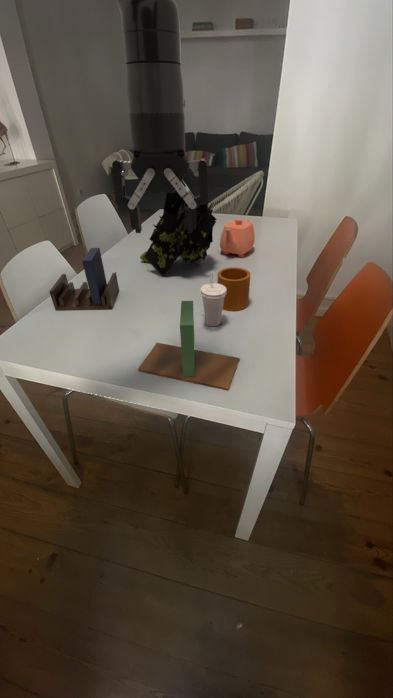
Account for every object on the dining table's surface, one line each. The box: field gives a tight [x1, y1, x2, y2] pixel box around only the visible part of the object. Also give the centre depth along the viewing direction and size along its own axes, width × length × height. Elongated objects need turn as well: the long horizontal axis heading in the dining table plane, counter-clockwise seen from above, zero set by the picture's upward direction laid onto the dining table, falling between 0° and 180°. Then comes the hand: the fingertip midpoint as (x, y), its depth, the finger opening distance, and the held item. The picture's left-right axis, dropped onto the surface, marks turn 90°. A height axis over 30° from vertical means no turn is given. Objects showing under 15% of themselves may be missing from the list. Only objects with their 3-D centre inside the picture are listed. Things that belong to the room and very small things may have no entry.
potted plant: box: [139, 191, 218, 278], centre depth 104 cm, size 21×22×30 cm
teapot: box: [219, 217, 256, 258], centre depth 117 cm, size 20×12×12 cm, turn 152°
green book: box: [179, 300, 195, 377], centre depth 65 cm, size 2×9×13 cm, turn 1°
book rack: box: [48, 272, 120, 311], centre depth 92 cm, size 16×11×6 cm
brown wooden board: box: [137, 342, 240, 391], centre depth 69 cm, size 20×10×1 cm, turn 72°
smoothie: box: [200, 271, 227, 327], centre depth 79 cm, size 6×6×14 cm
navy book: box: [81, 247, 108, 305], centre depth 89 cm, size 2×9×13 cm, turn 1°
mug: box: [217, 266, 251, 312], centre depth 89 cm, size 9×12×9 cm
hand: (164, 231), depth 53 cm, fingers open, 8 cm apart
